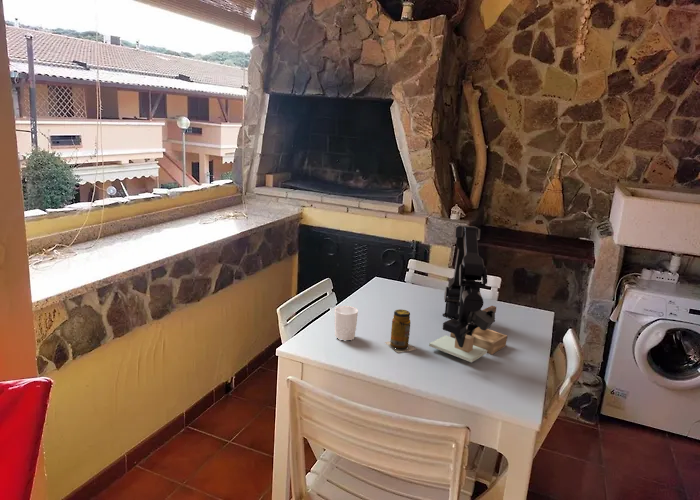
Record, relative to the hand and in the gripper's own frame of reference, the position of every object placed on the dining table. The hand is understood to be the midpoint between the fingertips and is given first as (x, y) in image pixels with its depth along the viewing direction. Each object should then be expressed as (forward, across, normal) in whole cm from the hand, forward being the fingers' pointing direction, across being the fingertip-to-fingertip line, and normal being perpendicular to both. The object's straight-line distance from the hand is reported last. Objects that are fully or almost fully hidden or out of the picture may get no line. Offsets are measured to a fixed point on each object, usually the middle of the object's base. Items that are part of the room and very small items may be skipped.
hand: (463, 345), depth 167 cm
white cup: (+4, -19, +35) cm, 40 cm away
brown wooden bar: (-2, +26, +7) cm, 27 cm away
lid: (+2, 0, +2) cm, 3 cm away
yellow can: (+4, -10, +18) cm, 21 cm away
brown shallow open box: (+4, +13, +2) cm, 14 cm away
